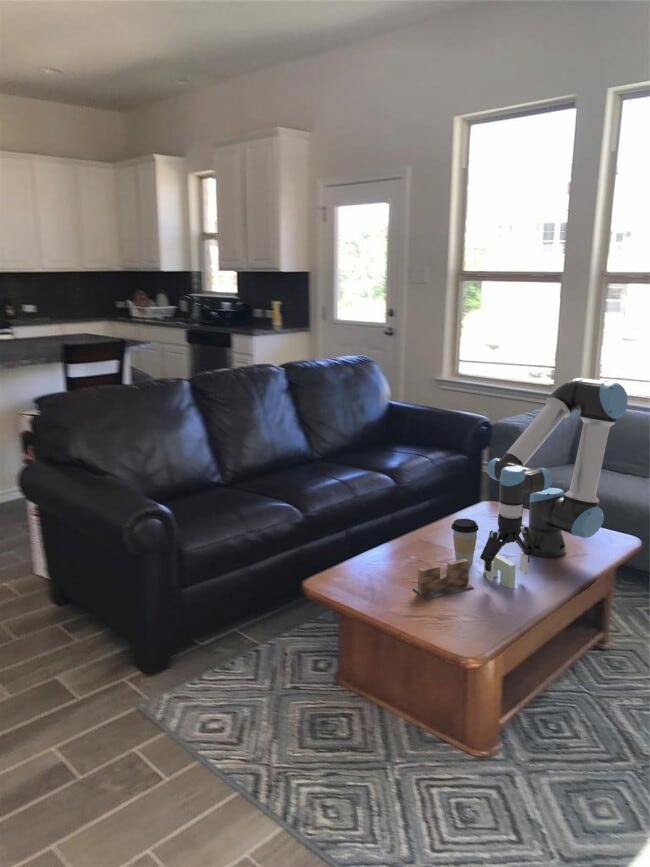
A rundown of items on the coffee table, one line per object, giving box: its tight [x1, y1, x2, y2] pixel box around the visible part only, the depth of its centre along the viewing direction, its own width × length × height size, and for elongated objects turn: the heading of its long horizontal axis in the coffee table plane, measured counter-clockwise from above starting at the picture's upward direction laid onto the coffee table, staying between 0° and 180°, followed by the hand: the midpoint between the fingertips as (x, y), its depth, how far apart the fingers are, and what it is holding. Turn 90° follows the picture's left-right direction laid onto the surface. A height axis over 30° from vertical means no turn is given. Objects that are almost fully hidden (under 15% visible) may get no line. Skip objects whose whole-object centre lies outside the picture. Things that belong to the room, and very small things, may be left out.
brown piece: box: [412, 559, 474, 601], centre depth 226 cm, size 18×8×9 cm, turn 113°
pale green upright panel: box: [483, 553, 517, 590], centre depth 232 cm, size 14×2×8 cm, turn 23°
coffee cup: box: [450, 518, 479, 566], centre depth 245 cm, size 9×9×15 cm
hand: (506, 575), depth 228 cm, fingers open, 13 cm apart
